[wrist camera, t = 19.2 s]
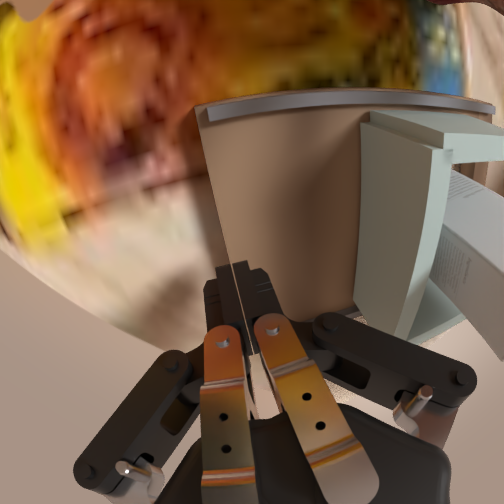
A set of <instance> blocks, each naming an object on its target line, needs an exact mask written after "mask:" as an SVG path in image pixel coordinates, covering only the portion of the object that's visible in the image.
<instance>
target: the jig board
mask: <svg viewBox="0 0 504 504" xmlns="http://www.w3.org/2000/svg"><path fill="white" fill-rule="evenodd" d="M194 109H195V114H196V118H197V123H198V128H199V132H200V137H201V141H202V146H203V151H204V155H205V160H206V164H207V168H208V173H209V177H210V182H211V186H212V190H213V195H214V199H215V203H216V207H217V212H218V216H219V220H220V224H221V228H222V232H223V237H224V241H225V245H226V249H227V253H228V257H229V261H230V264H231V267H232V271H233V275H234V270H233V266H232V263H236V262H240V261H244V260H247V261H248V264H249V268H250V270H253V269H257V268H262V269H263V270H264V271H265V272H267V273H268V275H269V278H270V280H271V283H272V285H273V288H274V290H275V293H276V296H277V298H278V301H279V303H280V306H281V308H282V311H283V313H284V314H285V316H286V317H287V318H289V319H291V320H293V321H296V322H313V321H314V320H315V318H316V317H317V316H319V315H321V314H323V313H326V312H335V313H339V314H341V315H344V316H346V317H348V318H351V319H353V318H356V317H359V316H361V315H362V313H361V312H360V310H359V308H358V307H357V305H356V304H355V302H354V301H353V293H354V284H355V275H356V266H357V255H358V242H359V227H360V207H361V130H360V122H370V110H407V111H429V112H443V113H453V114H463V115H468V116H471V117H474V118H477V119H480V120H483V121H485V122H488V123H491V124H492V114H494V115H495V107H494V106H492V104H490V103H487V102H483V101H480V100H476V99H471V98H466V97H461V96H455V95H449V94H443V93H435V92H428V91H419V90H409V89H396V88H376V87H331V88H310V89H297V90H286V91H277V92H268V93H261V94H254V95H247V96H241V97H235V98H229V99H224V100H219V101H214V102H209V103H204V104H200V105H195V106H194ZM487 168H488V161H486V162H471V163H461V165H460V174H462V175H464V176H466V177H468V178H470V179H472V180H474V181H476V182H478V183H480V184H481V185H483V186H485V181H486V175H487ZM234 279H235V275H234ZM235 283H236V279H235ZM236 287H237V283H236ZM237 291H238V287H237ZM238 295H239V291H238ZM239 299H240V296H239ZM240 303H241V300H240ZM241 307H242V304H241ZM242 311H243V308H242ZM243 315H244V312H243ZM244 319H245V316H244ZM245 323H246V320H245ZM246 327H247V324H246ZM247 331H248V328H247ZM248 334H249V331H248ZM249 338H250V335H249ZM250 341H251V339H250Z"/></svg>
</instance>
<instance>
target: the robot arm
mask: <svg viewBox="0 0 504 504" xmlns="http://www.w3.org/2000/svg"><path fill="white" fill-rule="evenodd" d="M232 266H233V270H234V275H235V279H236V283H237V287H238V291H239V295H238V291H237V287H236V283H235V279H234V275H233V271H232V267H231V264H228V265H224V266H220V267H216V268H215V269H216V275H217V279H212V280H208V281H207V282H206V284H205V286H204V289H203V292H204V303H205V313H206V323H207V334H206V336H205V338H204V342H203V343H202V344H201V345H200V346H199V347H197V348H196V349H194V350H192V351H190V352H188V353H186V354H185V353H183V352H182V351H179V350H169V351H166V352H164V353H163V354H161V355H160V356H159V357H158V358H157V360H156V361H155V362H154V363H153V365H152V366H151V367H150V368H149V369H148V371H147V372H146V373H145V374H144V376H143V377H142V378H141V379H140V381H139V382H138V383H137V384H136V386H135V387H134V388H133V389H132V391H131V392H130V393H129V394H128V396H127V397H126V398H125V400H124V401H123V402H122V403H121V404H120V406H119V407H118V408H117V410H116V411H115V412H114V413H113V415H112V416H111V417H110V418H109V420H108V421H107V422H106V423H105V425H104V426H103V427H102V428H101V430H100V431H99V432H98V434H97V435H96V436H95V437H94V439H93V440H92V441H91V443H90V444H89V445H88V446H87V448H86V449H85V450H84V451H83V453H82V454H81V455H80V456H79V458H78V459H77V460H76V462H75V464H74V468H73V473H74V477H75V479H76V481H77V483H78V484H79V485H80V486H82V487H83V488H86V489H89V490H92V491H95V492H97V493H99V494H102V495H104V496H105V497H106V498H107V499H108V500H109V501H110V502H112V503H113V504H450V497H449V490H450V489H449V488H450V480H451V464H450V461H449V459H448V457H447V455H446V454H445V452H444V451H443V450H442V449H443V447H444V445H445V442H446V440H447V438H448V435H449V433H450V430H451V427H452V425H453V422H454V419H455V416H456V414H457V411H458V408H459V406H460V405H461V404H462V403H463V401H464V400H466V399H467V397H468V396H469V395H470V394H471V393H472V392H473V391H474V390H475V388H476V385H477V376H476V373H475V371H474V370H473V369H472V368H471V367H470V366H469V365H467V364H465V363H462V362H460V361H457V360H454V359H451V358H449V357H446V356H444V355H441V354H438V353H436V352H433V351H431V350H428V349H426V348H423V347H420V346H418V345H415V344H413V343H410V342H408V341H405V340H403V339H400V338H398V337H395V336H393V335H390V334H388V333H385V332H383V331H380V330H378V329H375V328H373V327H370V326H368V325H365V324H363V323H361V322H358V321H356V320H353V319H351V318H348V317H346V316H344V315H341V314H339V313H335V312H326V313H323V314H321V315H319V316H317V317H316V318H315V320H314V321H313V322H296V321H293V320H291V319H289V318H287V317H286V316H285V314H284V313H283V311H282V308H281V306H280V303H279V301H278V298H277V296H276V293H275V290H274V288H273V285H272V283H271V280H270V278H269V275H268V273H267V272H265V271H264V270H263V269H262V268H257V269H253V270H250V268H249V264H248V261H247V260H244V261H240V262H236V263H232ZM239 296H240V299H239ZM240 300H241V303H240ZM241 304H242V307H241ZM242 308H243V311H242ZM243 312H244V315H243ZM244 316H245V319H244ZM245 320H246V324H247V328H248V331H249V335H250V339H251V342H252V346H253V350H254V353H255V354H258V353H259V354H260V358H261V361H262V365H263V369H264V372H265V374H266V377H267V380H268V382H269V385H270V388H271V390H272V393H273V395H274V398H275V400H276V403H277V406H278V409H279V412H280V414H278V415H276V416H274V417H272V418H270V419H259V416H258V412H257V407H256V400H255V394H254V387H253V380H252V373H251V364H250V360H249V356H250V355H253V352H252V348H251V344H250V340H249V336H248V332H247V328H246V324H245ZM324 378H325V379H327V380H329V381H331V382H333V383H335V384H337V385H339V386H341V387H343V388H345V389H347V390H349V391H351V392H353V393H355V394H358V395H360V396H362V397H364V398H366V399H368V400H371V401H373V402H375V403H377V404H379V405H382V406H384V407H386V408H388V409H391V410H393V418H394V421H395V422H396V424H397V425H398V426H400V427H401V428H403V429H404V430H405V431H406V432H407V433H406V432H404V431H401V430H399V429H397V428H395V427H393V426H391V425H389V424H386V423H384V422H382V421H380V420H378V419H376V418H374V417H372V416H370V415H368V414H366V413H364V412H363V411H361V410H359V409H357V408H354V407H352V406H349V405H346V404H342V403H336V401H335V399H334V397H333V395H332V393H331V391H330V389H329V387H328V385H327V383H326V382H325V380H324ZM199 414H200V420H201V438H199V439H198V440H197V441H196V442H195V443H194V444H193V445H192V446H191V447H190V449H189V450H188V452H187V453H186V455H185V456H184V458H183V460H182V461H181V463H180V464H179V466H178V467H177V469H176V470H175V472H174V474H173V475H172V477H171V478H170V480H169V481H168V483H167V484H166V486H165V487H164V489H163V490H162V492H161V489H162V487H163V485H164V480H165V477H164V474H163V472H162V470H161V468H162V467H163V465H164V464H165V462H166V461H167V460H168V458H169V457H170V456H171V454H172V453H173V451H174V450H175V448H176V447H177V446H178V444H179V443H180V441H181V440H182V438H183V437H184V436H185V434H186V433H187V431H188V430H189V428H190V427H191V425H192V424H193V422H194V421H195V420H196V418H197V417H198V415H199Z"/></svg>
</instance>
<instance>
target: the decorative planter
mask: <svg viewBox="0 0 504 504" xmlns="http://www.w3.org/2000/svg"><path fill="white" fill-rule="evenodd" d="M426 1H429V2H431V3H434V4H439V5H447V4H453V3H464V2H477V3H482V4H485V5H487V6H489V7H491V8H493V9H495V10H496V11H498V12H499V13H500V14H502V15H503V16H504V0H426Z"/></svg>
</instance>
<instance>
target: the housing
mask: <svg viewBox="0 0 504 504" xmlns="http://www.w3.org/2000/svg"><path fill="white" fill-rule="evenodd" d="M360 130H361V207H360V227H359V242H358V255H357V266H356V275H355V284H354V293H353V301H354V302H355V304H356V305H357V307H358V308H359V310H360V312H361V313H362V315H363V316H364V318H365V320H366V321H367V323H368V325H369V326H370V327H373V328H375V329H378V330H380V331H383V332H385V333H388V334H390V335H393V336H395V337H398V338H400V339H403V340H405V341H408V342H410V343H413V344H415V345H419V344H421V343H423V342H425V341H427V340H429V339H431V338H433V337H435V336H437V335H438V334H440V333H442V332H444V331H446V330H448V329H449V328H451V327H453V326H455V325H457V324H458V323H460V322H462V321H463V320H465V319H467V318H466V317H465V316H464V315H463V314H462V313H461V311H460V310H459V309H458V308H457V307H456V306H455V305H454V304H453V302H452V301H451V300H450V299H449V298H448V297H447V296H446V295H445V294H444V293H443V292H442V291H441V290H440V289H439V288H438V286H437V285H436V284H435V283H434V282H433V281H432V280H431V279H430V278H429V275H430V271H431V268H432V264H433V261H434V257H435V253H436V249H437V245H438V241H439V237H440V232H441V228H442V223H443V218H444V213H445V208H446V202H447V196H448V190H449V183H450V175H451V166H452V164H459V163H471V162H486V161H504V129H503V128H501V127H498V126H496V125H493V124H491V123H488V122H485V121H483V120H480V119H477V118H474V117H471V116H468V115H463V114H453V113H443V112H429V111H407V110H370V122H360Z"/></svg>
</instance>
